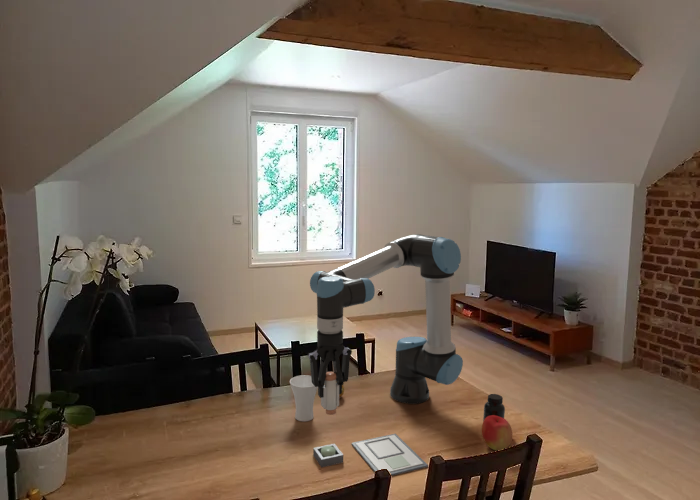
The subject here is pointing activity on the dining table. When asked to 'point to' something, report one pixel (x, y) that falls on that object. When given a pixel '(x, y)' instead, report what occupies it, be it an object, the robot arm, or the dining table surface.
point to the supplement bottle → (494, 406)
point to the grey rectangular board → (389, 454)
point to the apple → (496, 432)
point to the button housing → (330, 459)
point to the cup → (303, 396)
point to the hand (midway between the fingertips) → (330, 405)
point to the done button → (328, 451)
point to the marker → (331, 392)
